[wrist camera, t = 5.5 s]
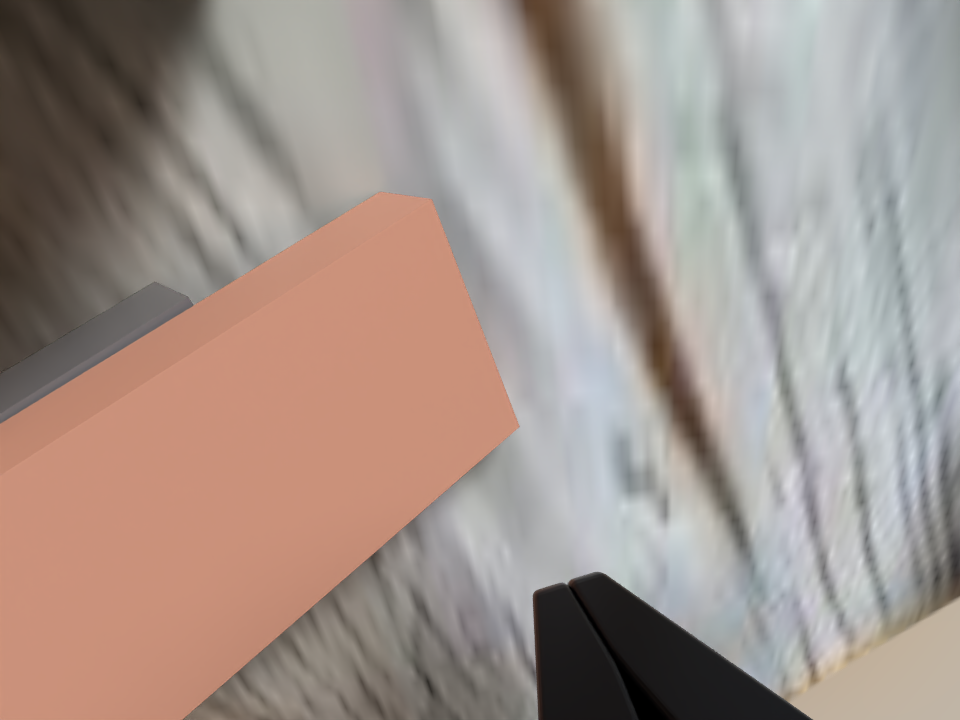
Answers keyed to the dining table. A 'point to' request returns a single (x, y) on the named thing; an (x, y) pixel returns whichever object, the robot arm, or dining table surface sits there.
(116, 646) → the domino
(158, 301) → the domino
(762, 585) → the dining table surface
